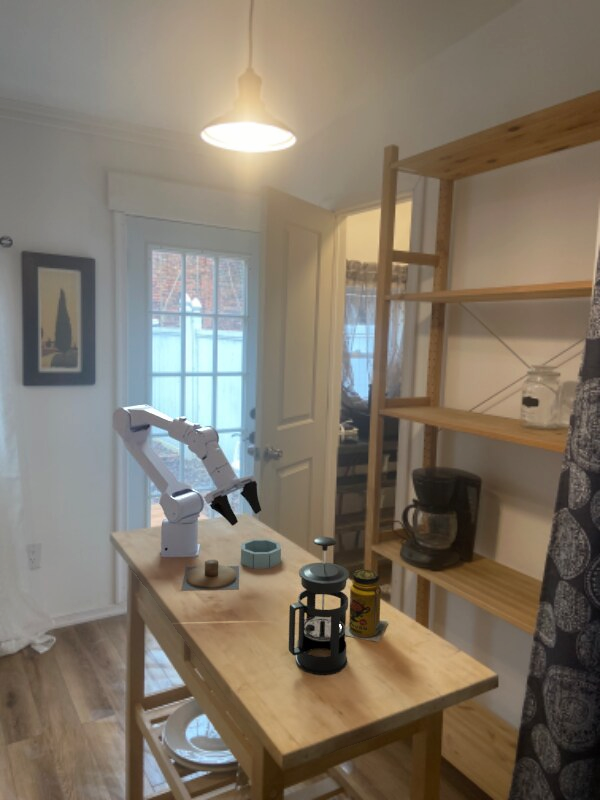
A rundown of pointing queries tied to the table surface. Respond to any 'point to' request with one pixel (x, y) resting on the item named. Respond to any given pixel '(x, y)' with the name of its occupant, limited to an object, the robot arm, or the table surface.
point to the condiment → (365, 607)
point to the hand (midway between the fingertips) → (247, 517)
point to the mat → (231, 586)
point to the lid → (211, 575)
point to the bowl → (260, 553)
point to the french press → (320, 616)
